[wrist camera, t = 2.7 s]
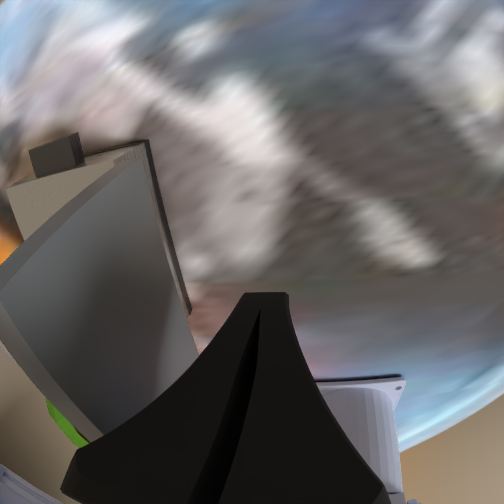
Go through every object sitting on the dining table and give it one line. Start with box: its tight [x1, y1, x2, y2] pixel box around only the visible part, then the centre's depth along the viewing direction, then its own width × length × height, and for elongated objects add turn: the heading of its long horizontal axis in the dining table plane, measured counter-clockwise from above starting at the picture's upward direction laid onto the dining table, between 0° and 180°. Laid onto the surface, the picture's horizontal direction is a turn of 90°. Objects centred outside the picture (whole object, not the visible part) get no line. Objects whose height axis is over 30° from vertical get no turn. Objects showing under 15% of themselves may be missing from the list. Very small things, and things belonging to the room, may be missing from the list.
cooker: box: [5, 132, 192, 319], centre depth 15 cm, size 13×8×3 cm, turn 7°
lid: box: [0, 157, 199, 442], centre depth 10 cm, size 10×8×2 cm
